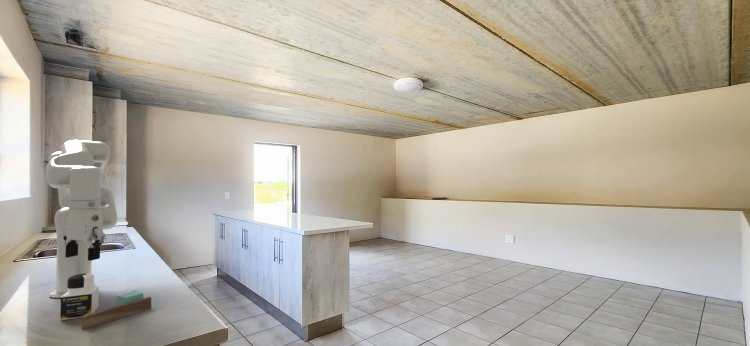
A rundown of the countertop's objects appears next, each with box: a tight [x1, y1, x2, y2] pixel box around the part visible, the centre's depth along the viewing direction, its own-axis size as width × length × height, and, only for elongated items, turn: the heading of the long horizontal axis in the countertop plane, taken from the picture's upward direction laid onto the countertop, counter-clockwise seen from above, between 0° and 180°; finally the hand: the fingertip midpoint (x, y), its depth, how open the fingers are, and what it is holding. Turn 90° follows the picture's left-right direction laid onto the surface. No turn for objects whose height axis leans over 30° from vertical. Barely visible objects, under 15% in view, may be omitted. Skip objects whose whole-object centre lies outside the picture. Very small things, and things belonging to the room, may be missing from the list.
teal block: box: [116, 290, 144, 306], centre depth 102 cm, size 5×5×5 cm
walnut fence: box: [81, 296, 152, 331], centre depth 96 cm, size 2×17×4 cm, turn 153°
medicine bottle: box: [59, 273, 100, 321], centre depth 99 cm, size 7×7×12 cm
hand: (82, 258), depth 104 cm, fingers open, 9 cm apart
